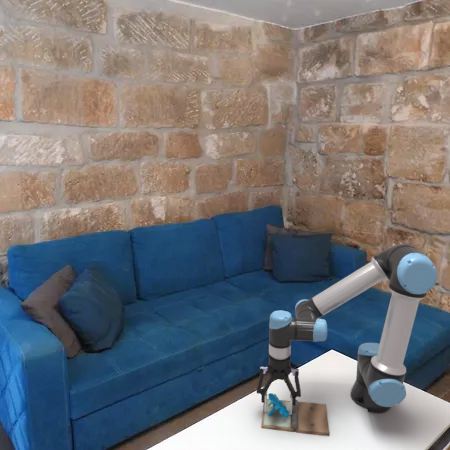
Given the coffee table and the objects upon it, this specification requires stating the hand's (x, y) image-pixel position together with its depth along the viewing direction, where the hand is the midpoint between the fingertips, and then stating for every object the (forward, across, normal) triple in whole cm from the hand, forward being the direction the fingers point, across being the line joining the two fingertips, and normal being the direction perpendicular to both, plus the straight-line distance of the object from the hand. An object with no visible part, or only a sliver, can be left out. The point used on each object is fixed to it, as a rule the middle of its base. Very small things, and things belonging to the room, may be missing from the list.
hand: (278, 410), depth 157 cm
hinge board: (+2, -6, 0) cm, 6 cm away
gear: (+2, -2, 0) cm, 3 cm away
